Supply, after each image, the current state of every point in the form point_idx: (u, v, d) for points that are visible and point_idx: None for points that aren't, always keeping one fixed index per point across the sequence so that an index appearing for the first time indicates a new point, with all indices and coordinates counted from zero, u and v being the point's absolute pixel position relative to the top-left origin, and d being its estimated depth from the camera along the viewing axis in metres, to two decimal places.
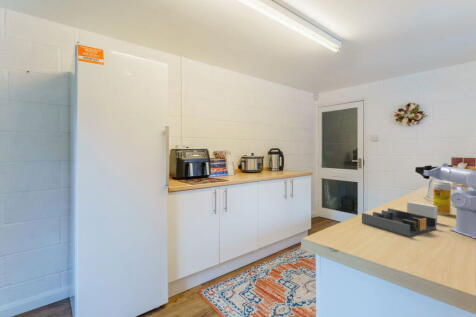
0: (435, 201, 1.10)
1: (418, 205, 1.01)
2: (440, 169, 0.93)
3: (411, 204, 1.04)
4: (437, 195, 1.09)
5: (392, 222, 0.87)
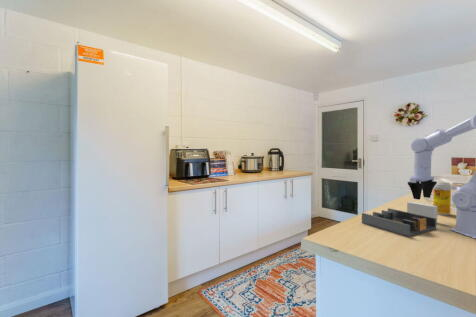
0: (435, 201, 1.10)
1: (418, 205, 1.01)
2: (415, 175, 1.01)
3: (411, 204, 1.04)
4: (437, 195, 1.09)
5: (392, 222, 0.87)
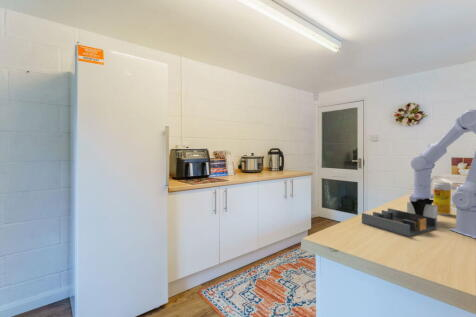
0: (435, 201, 1.10)
1: None
2: (414, 193, 1.02)
3: (411, 204, 1.04)
4: (437, 195, 1.09)
5: (392, 222, 0.87)
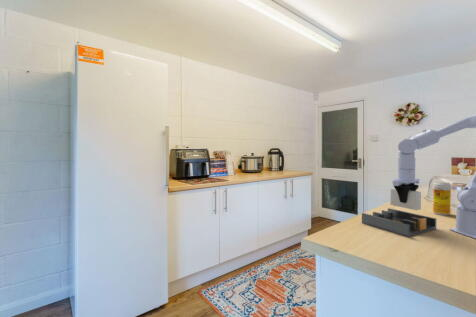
0: (435, 201, 1.10)
1: None
2: (398, 178, 0.97)
3: (394, 190, 0.99)
4: (437, 195, 1.09)
5: (392, 222, 0.87)
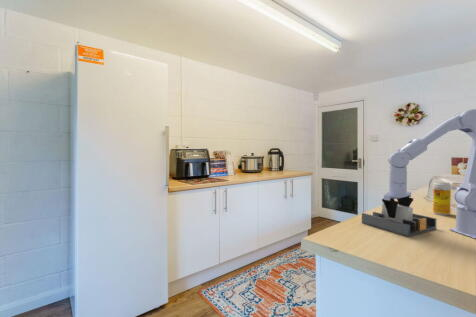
0: (435, 201, 1.10)
1: None
2: (390, 192, 0.94)
3: None
4: (437, 195, 1.09)
5: (392, 222, 0.87)
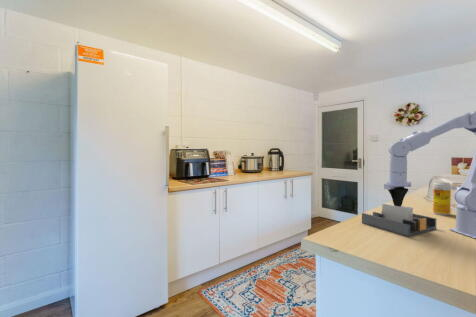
0: (435, 201, 1.10)
1: (393, 207, 0.94)
2: (390, 181, 0.94)
3: (386, 205, 0.97)
4: (437, 195, 1.09)
5: (392, 222, 0.87)
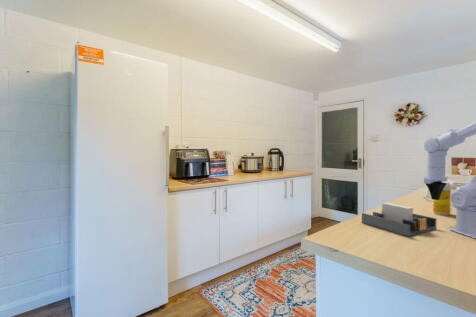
0: (435, 201, 1.10)
1: (393, 207, 0.94)
2: (428, 176, 0.99)
3: (386, 205, 0.97)
4: None
5: (392, 222, 0.87)
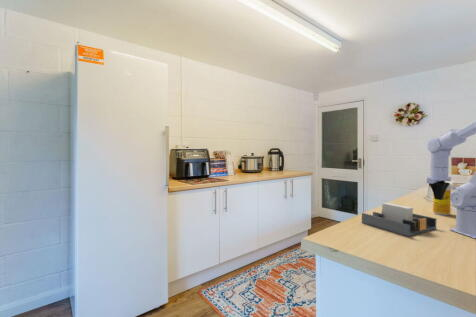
0: (435, 201, 1.10)
1: (393, 207, 0.94)
2: (431, 176, 0.99)
3: (386, 205, 0.97)
4: None
5: (392, 222, 0.87)
